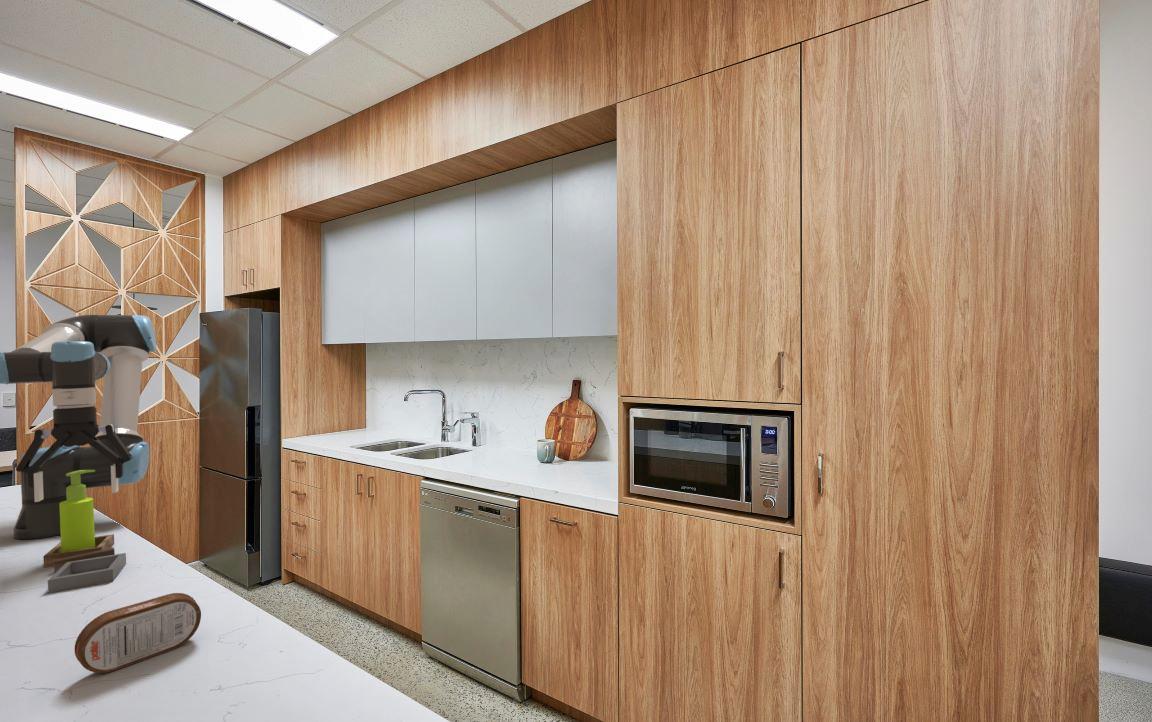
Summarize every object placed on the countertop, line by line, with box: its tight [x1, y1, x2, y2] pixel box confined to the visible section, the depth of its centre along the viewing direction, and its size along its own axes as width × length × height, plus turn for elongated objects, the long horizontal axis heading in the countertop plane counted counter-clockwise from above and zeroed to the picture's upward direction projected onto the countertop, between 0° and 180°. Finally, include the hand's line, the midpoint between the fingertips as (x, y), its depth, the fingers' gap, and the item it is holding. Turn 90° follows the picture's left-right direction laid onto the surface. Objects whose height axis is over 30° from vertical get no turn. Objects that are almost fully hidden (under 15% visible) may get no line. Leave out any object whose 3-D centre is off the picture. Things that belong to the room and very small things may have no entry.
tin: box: [74, 592, 202, 674], centre depth 82 cm, size 15×3×8 cm, turn 141°
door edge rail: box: [53, 546, 116, 575], centre depth 121 cm, size 2×10×2 cm, turn 136°
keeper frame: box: [47, 552, 127, 594], centre depth 114 cm, size 11×10×2 cm
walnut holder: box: [42, 533, 115, 568], centre depth 128 cm, size 11×10×2 cm
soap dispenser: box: [59, 470, 96, 552], centre depth 128 cm, size 6×7×20 cm
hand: (78, 496), depth 127 cm, fingers open, 13 cm apart
